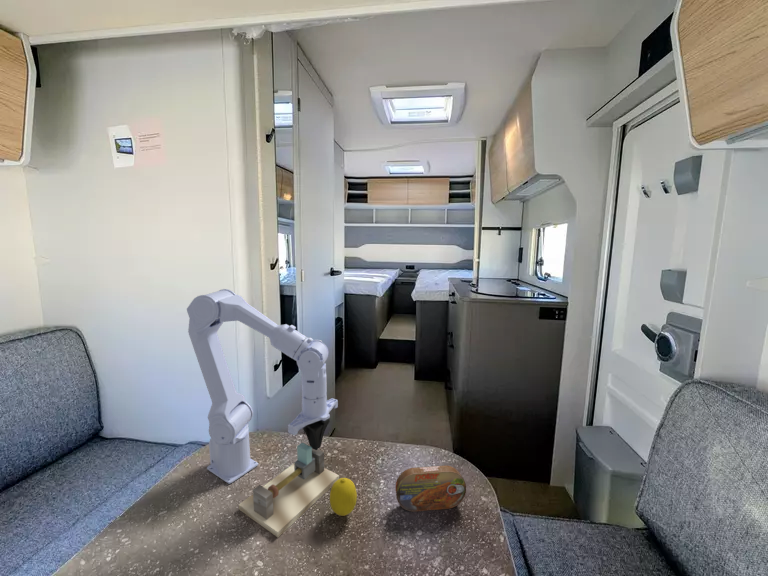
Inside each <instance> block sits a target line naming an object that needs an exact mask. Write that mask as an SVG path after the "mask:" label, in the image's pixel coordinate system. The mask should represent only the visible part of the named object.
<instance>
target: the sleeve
mask: <svg viewBox="0 0 768 576" xmlns="http://www.w3.org/2000/svg"><path fill="white" fill-rule="evenodd" d="M296 448H297V449H296V452H297V454H296V455H297V460H296V461H295V462H294V463H293V464H294V471H295V470H297V469H298V468H301V469H302V473H300V474H299V475H298V477H300V478H302V479H305V478H307V477H308V476H309V475H310V474H311V473H313V472H314V471H315V458H313V457H312V447H311V446H310V445H308V444H306V443H304V442H301V443H299V444H298V445H297V446H296Z"/></svg>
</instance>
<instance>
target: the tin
mask: <svg viewBox="0 0 768 576" xmlns="http://www.w3.org/2000/svg"><path fill="white" fill-rule="evenodd" d="M466 494H467V484H466V481H465V479H464V477H462V474H461V472H459V470H458V469H456V467H454V466H451V465H434V466H433V465H431V466H421V467H410V468H407V469H405V470H403V471H402V472H401V473H400V474H399V476H398V477H397V479H396V481H395V496H396V497H395V498H396V501H397V503H398V504H399V506H400V508H401V507H402V509H404V510H406V511H408V512H412V513H413V512H414V513H415V512H424V511H425V512H426V511H427V512H428V511H436V510H437V511H438V510H448V509H453V508H456V506H458V505H459V504H461V503H462V501H464V499H465V496H466Z"/></svg>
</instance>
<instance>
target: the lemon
mask: <svg viewBox="0 0 768 576" xmlns="http://www.w3.org/2000/svg"><path fill="white" fill-rule="evenodd" d="M329 492H330V493H329V503H330V504H329V505H330V507H331V509H332V511H333V513H334V514H336V515H338V516H342V517H343V516H348V515H350V514H351V513H352V511H353V510H354V509H355V507H356V504H357V501H358V495H357V494H358V493H357V489H356V485H355V483H354V482H353V481H352V480H351V479H350V478H347V477H339V479H338V480H337V481H336V482H335V483H334V484H333V486H332V487H331V488H330V491H329Z"/></svg>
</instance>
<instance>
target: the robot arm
mask: <svg viewBox="0 0 768 576" xmlns="http://www.w3.org/2000/svg"><path fill="white" fill-rule="evenodd" d="M186 313H187V315H188V318H189V320H188V329H187V330H188V331H187V333H188V336H189V338H190V342H191V345H192V349H193V351H194V354H195V356H196V360H197V362H198V365H199V368H200V370H201V374H202V377H203V379H204V382H205V385H206V388H207V391H208V394H209V396H210V397H209V398H210V400H211V406H210V408H209V412H208V415H207V420H208V424H209V425H208V436H209V437H210V438H209V442H208V449H209V462H210V463H209V465H207V467H206V470H207V471H209V472H210V473H212V474H213V475H215V476H217V477H218V478H220V479H221V480H222V481H224V482H226V484H228V485H229V484H232V483H234V482H235V481H237V480H238V479H239V478H241V477H242V476H244V475H245V474H247V473H248V472H250V471H252V470H253V469H255V468H256V467H257V466H259V462H257V461H255V460H254V459H252V458H251V450H250V446H251V445H250V429H249V426H250V425H249V422H250V421H251V420H252V419H253V417H254V410H253V407H252V406H251V405H250V404H249V402H247V400H246V397H245V395H244V394H242V393H239V392H237V389H236V387H235V386H236V385H235V384H234V380H233V377H232V375H231V371H230V369H229V368H230V367H229V365H228V363H227V359H226V356H225V353H224V349H223V348H222V344H221V340H220V338H219V335H218V331H219V329H220V328H221V326H222V325H223V323H226V322H237V321H238V322H240V323H242V324H244V325H245V326H247V327H249V328H251V329H253V330H255V331H256V332H258V333H260V334H262V335H263V336H265V337H267V338H268V339H269V342H270V345H271V347H273V348H275V349H277V350H278V351H279V352H281V353H283V354H284V355H286V356H287V357H289V358H291V359H292V360H294V361H296V365H297V367H298V369H299V370H300V371H301V377H300V378H301V381H300V382H301V385H300V386H301V411H300V412H299V413H298V414H297V416H296V417H295V418H294V419H293V420H292V421H291V422H290V423H288V424H287V433H288V434H290V435H292V436H296V435H298V432H299V431H301V429H302V430H303V432H304V434H305V436H306V438H307V440H308V443H309V446H311V447H312V449H315V450H317V449H318V450H320V448H321V446H322V441H323V438H324V435H325V431H326V429H327V427H328V425H329V424H330V423H331V421H330V420H331V415H330V412H331V411H332V410H333V409H335V410H336V409H337V408H339V406H338V405H339V401H338V399H335V398H333V397H332V398H330V399H328V397H327V395H328V391H327V390H328V389H327V388H328V387H327V385H328V384H327V382H328V381H327V380H328V379H327V363H326V361H327V360H328V358H329V354H330V353H329V347H328V346H327V345H326V343H324V342H323V341H322V340H320V339H313V338H312V337H307V336H306V335H304V334H302V333H301V332H300V331H298V330H296V329H297V327H296V326H295V325H293V324H291V325H289V324H287V323H285V324H277V322H275V321H274V320H272V319H271V318H269V317H267V315H265V314H263V313H262V312H260V311H259V310H258V309H256V308H255V307H254V306H252V305H250V304H249V303H248V302H247V301H246V300H245V299H244V297H243V296H242V295H239V294H236V293H235V292H234V291H233V290H230V289H227V288H223V289H220V290H217V291H213V292H211V293H206V294H200V295H197V296H196V297H194V298H193V299H192V300H191V302H190V304H189V305H188V306H187V308H186Z"/></svg>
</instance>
